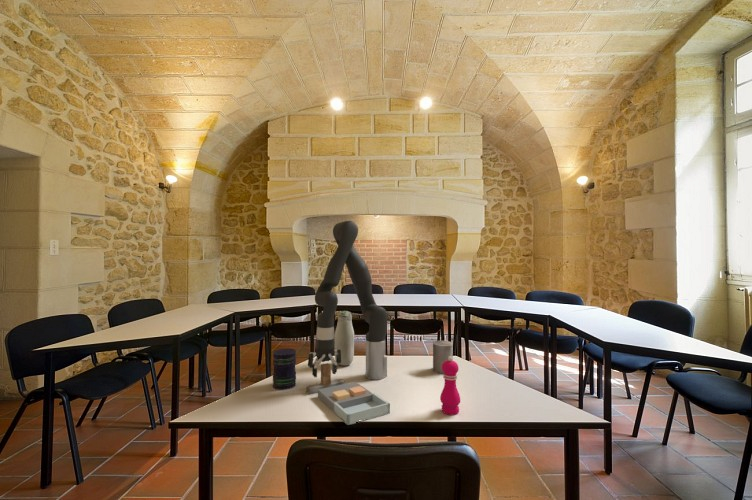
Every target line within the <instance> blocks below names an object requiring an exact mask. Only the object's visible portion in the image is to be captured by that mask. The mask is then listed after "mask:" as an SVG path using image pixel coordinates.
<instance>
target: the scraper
mask: <svg viewBox="0 0 752 500" xmlns="http://www.w3.org/2000/svg"><path fill="white" fill-rule="evenodd" d="M331 374H332V365H331V364H329V363H327V362H326V363H322V364H321V363H320V382H318V383H314V384H309V385H306V386H305V387H306V388H305V391H306V393H307V394H308V395H314V394H318V389H323V388H327V387H332V386H337V385H341V384H346V382H345V380H343V379H342V378H339V379H334V380H333V379H332V375H331ZM331 379H332V380H331Z"/></svg>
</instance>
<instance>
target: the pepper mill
mask: <svg viewBox="0 0 752 500" xmlns="http://www.w3.org/2000/svg"><path fill="white" fill-rule="evenodd" d="M453 359H454V358H452V357H451V356H449V357H448V360H447V361H445V362H444V363H443V364H442V370H443V372H444V374H443V373H442V375H443V379H444V383H443V385H444V386H443V389H442V391H441V394H440V398H439V399H440V400H439V401H440V402H441V412H442V413H443V414H446V415H449V416H451V415H452V416H455V415H457V414H459V413H460V406H459V405H460V404H461V396H460V393H459V391H458V388H457V379H458V374H457V373H458V372H459V364H458V362H456V361H454V360H453ZM452 360H453V361H452Z"/></svg>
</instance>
